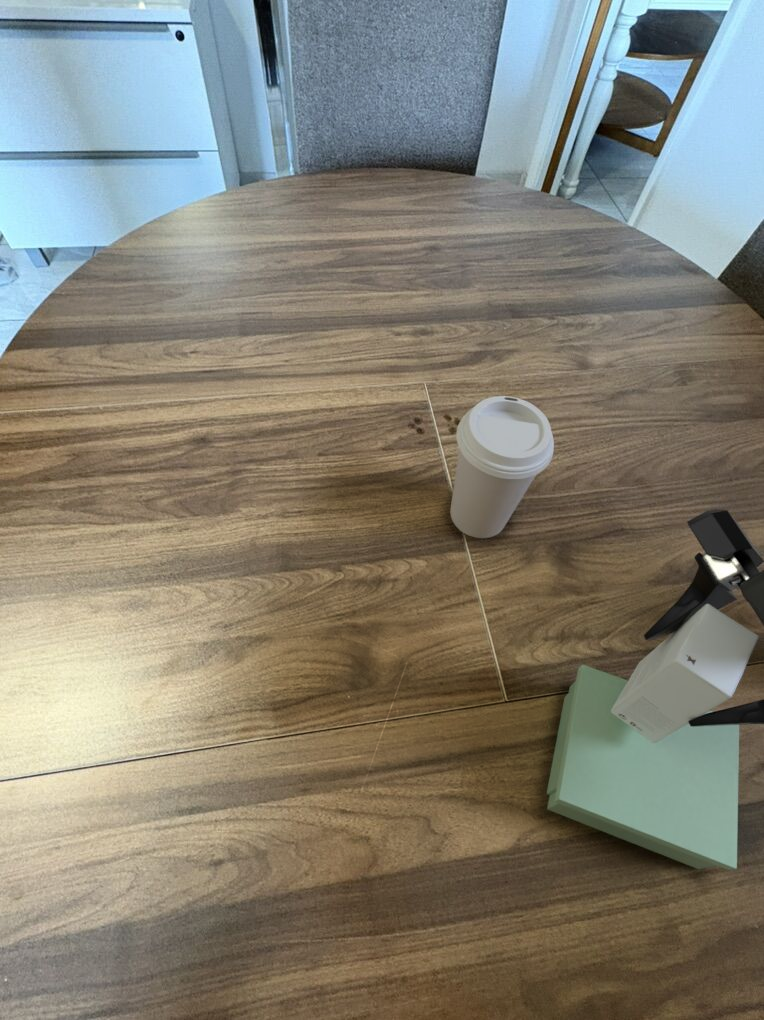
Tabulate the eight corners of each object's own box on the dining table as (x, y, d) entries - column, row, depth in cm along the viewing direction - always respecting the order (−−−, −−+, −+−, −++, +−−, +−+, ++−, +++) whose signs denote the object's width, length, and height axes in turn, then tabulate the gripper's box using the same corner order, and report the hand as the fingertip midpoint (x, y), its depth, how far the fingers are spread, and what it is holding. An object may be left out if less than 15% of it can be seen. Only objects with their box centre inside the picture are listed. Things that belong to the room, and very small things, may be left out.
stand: (710, 735, 58) (739, 720, 54) (704, 874, 51) (737, 869, 47) (564, 682, 60) (582, 664, 56) (540, 809, 53) (558, 799, 49)
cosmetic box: (654, 746, 50) (731, 701, 41) (608, 712, 52) (672, 660, 42) (683, 690, 53) (762, 635, 43) (639, 659, 55) (705, 599, 45)
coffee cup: (532, 504, 72) (574, 416, 59) (498, 564, 67) (537, 481, 54) (459, 469, 74) (485, 376, 62) (422, 524, 69) (442, 435, 57)
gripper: (785, 432, 39) (572, 551, 46) (1020, 723, 29) (703, 819, 36) (809, 486, 47) (625, 581, 54) (1001, 729, 37) (744, 807, 44)
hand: (667, 679), depth 47 cm, fingers closed on cosmetic box, 6 cm apart
